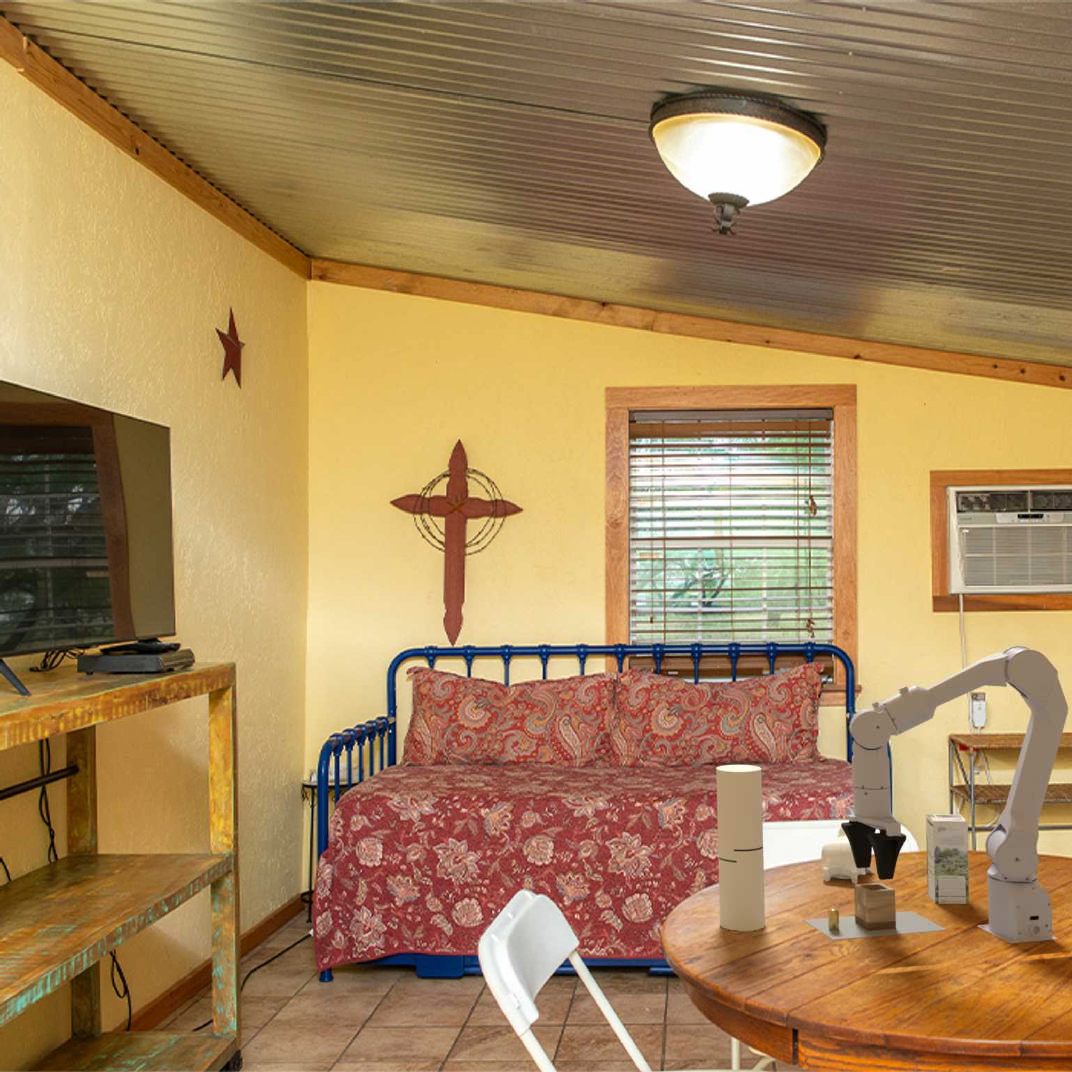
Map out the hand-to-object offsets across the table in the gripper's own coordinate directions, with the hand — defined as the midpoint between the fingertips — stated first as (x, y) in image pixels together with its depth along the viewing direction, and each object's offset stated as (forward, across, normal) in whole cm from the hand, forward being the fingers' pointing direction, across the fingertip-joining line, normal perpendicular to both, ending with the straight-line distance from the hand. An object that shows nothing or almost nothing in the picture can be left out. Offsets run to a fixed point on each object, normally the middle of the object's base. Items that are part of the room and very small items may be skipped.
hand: (874, 873), depth 194 cm
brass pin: (+9, 0, -7) cm, 11 cm away
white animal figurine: (+9, -33, +11) cm, 36 cm away
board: (+9, 0, 0) cm, 9 cm away
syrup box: (+9, -11, +19) cm, 24 cm away
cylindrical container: (+9, -8, -19) cm, 23 cm away
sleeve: (+8, 0, 0) cm, 8 cm away
